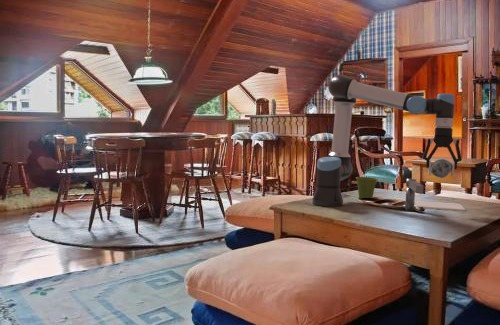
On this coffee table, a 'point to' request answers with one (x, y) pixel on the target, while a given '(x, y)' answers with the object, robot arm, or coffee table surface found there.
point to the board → (439, 205)
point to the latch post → (409, 199)
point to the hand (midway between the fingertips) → (440, 175)
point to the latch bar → (414, 185)
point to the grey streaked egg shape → (441, 168)
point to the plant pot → (366, 186)
